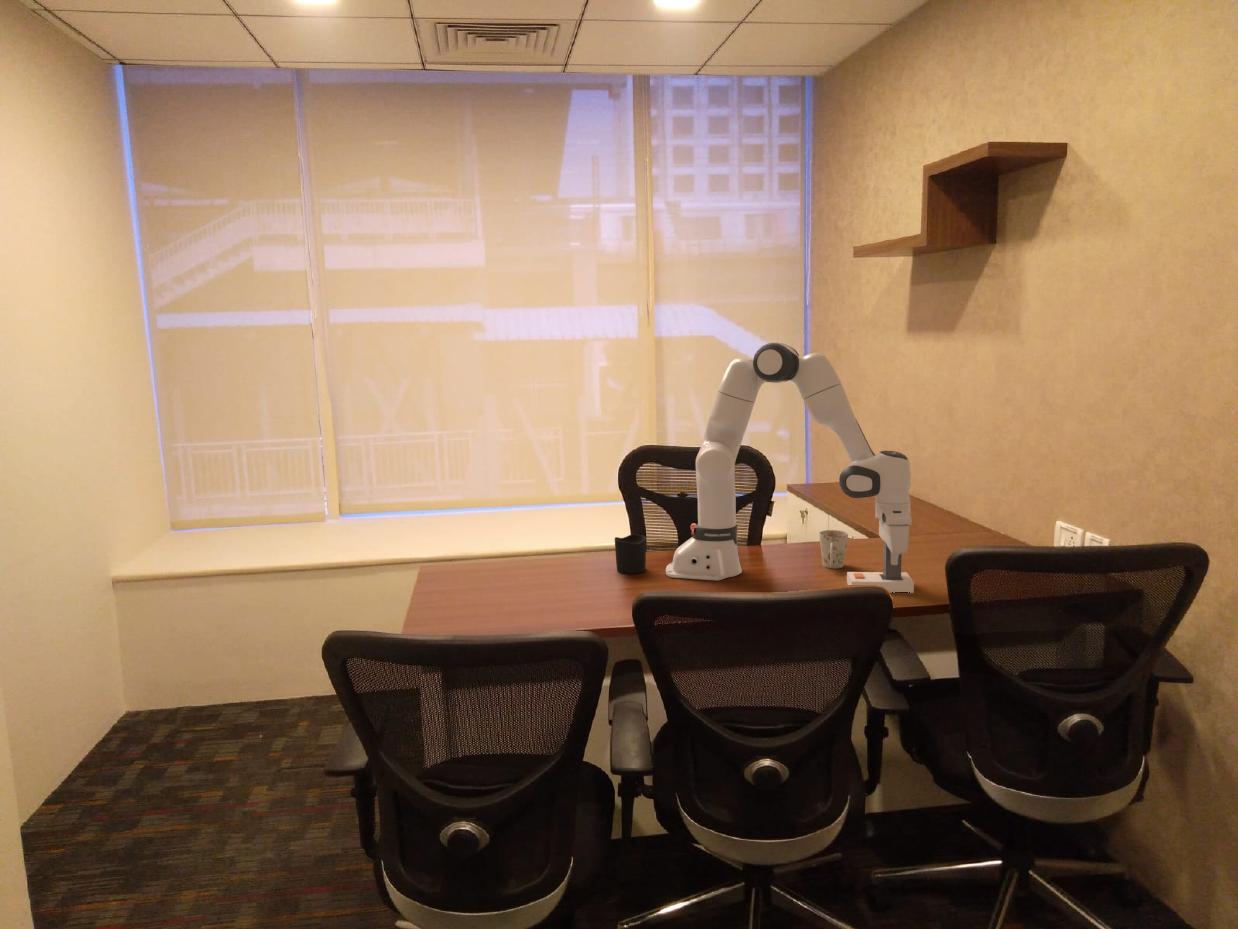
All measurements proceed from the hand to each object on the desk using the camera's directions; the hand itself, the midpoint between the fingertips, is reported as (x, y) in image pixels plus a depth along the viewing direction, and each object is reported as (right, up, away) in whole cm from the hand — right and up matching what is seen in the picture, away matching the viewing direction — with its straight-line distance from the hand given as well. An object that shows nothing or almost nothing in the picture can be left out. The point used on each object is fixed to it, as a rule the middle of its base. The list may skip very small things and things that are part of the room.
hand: (891, 561), depth 217 cm
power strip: (-3, -7, +1) cm, 8 cm away
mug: (-10, -5, +22) cm, 24 cm away
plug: (0, -5, +1) cm, 5 cm away
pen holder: (-70, -6, +26) cm, 75 cm away
